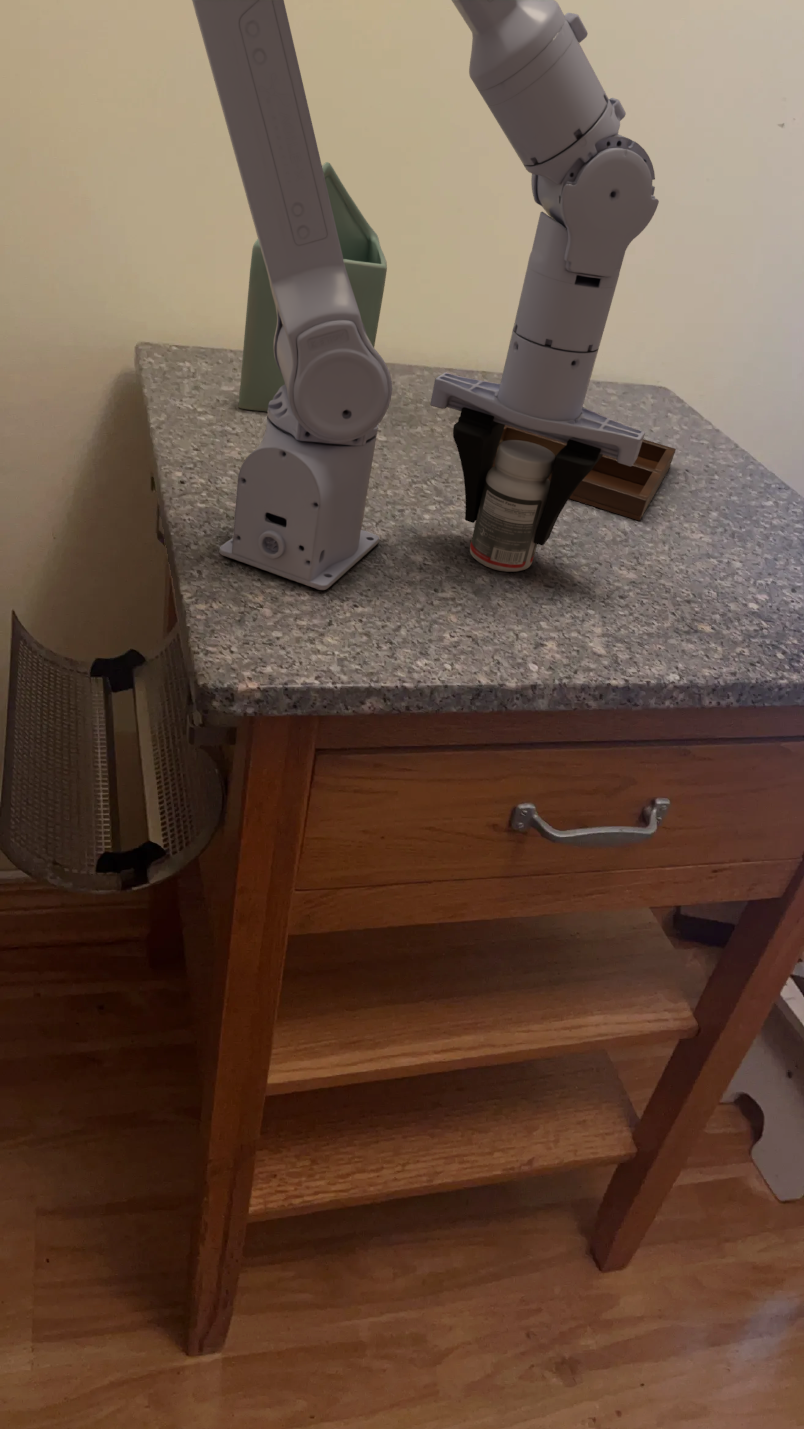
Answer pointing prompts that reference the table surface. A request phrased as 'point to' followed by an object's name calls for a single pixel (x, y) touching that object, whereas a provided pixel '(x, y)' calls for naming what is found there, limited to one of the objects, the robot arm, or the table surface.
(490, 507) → the pill bottle
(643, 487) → the tray
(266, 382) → the green tall open box
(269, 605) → the table surface
